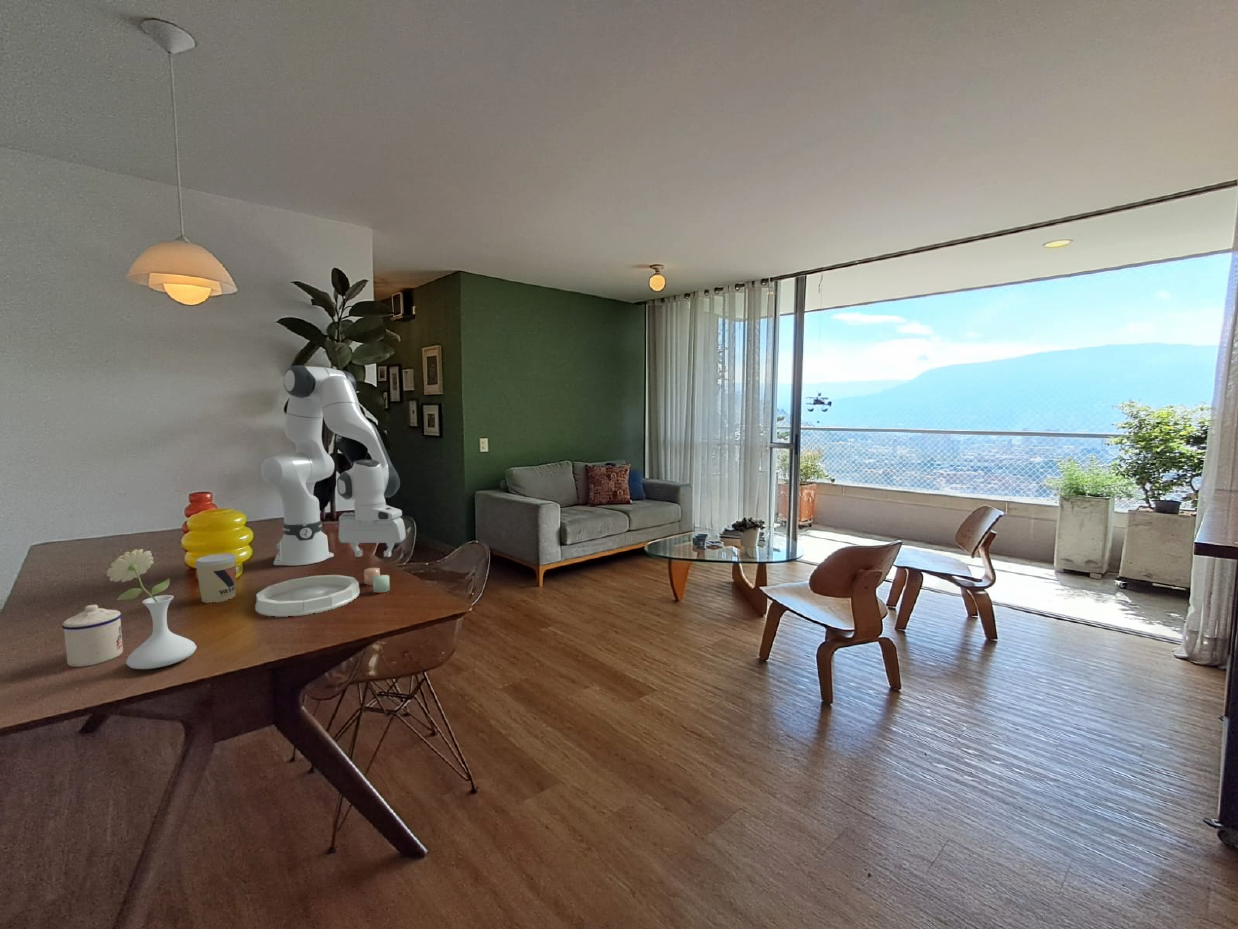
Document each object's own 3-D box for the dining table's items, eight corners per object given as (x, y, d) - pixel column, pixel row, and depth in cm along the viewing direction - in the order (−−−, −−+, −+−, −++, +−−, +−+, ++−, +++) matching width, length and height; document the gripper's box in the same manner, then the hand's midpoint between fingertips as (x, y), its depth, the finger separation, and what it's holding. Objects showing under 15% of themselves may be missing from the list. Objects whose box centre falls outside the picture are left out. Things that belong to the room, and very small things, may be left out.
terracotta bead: (363, 583, 167) (362, 569, 166) (378, 580, 170) (377, 566, 169) (366, 586, 163) (366, 572, 163) (382, 583, 166) (381, 569, 166)
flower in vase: (189, 645, 121) (181, 537, 119) (203, 660, 114) (195, 545, 112) (111, 666, 111) (100, 549, 109) (121, 684, 104) (109, 558, 102)
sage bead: (371, 591, 159) (371, 576, 159) (387, 588, 162) (386, 574, 162) (375, 595, 156) (375, 580, 155) (391, 592, 159) (391, 577, 158)
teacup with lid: (131, 654, 117) (127, 603, 116) (74, 672, 109) (69, 616, 108) (110, 643, 123) (106, 593, 122) (54, 658, 115) (49, 606, 114)
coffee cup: (222, 604, 148) (219, 562, 147) (189, 604, 148) (186, 561, 147) (246, 593, 157) (244, 553, 156) (215, 593, 158) (212, 553, 156)
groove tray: (251, 597, 153) (250, 585, 153) (348, 580, 169) (347, 569, 169) (260, 624, 133) (260, 611, 133) (370, 602, 150) (369, 590, 149)
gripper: (332, 514, 162) (335, 558, 164) (396, 514, 160) (399, 559, 162) (345, 510, 169) (347, 553, 170) (406, 510, 167) (409, 554, 168)
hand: (373, 556), depth 166 cm, fingers open, 8 cm apart
